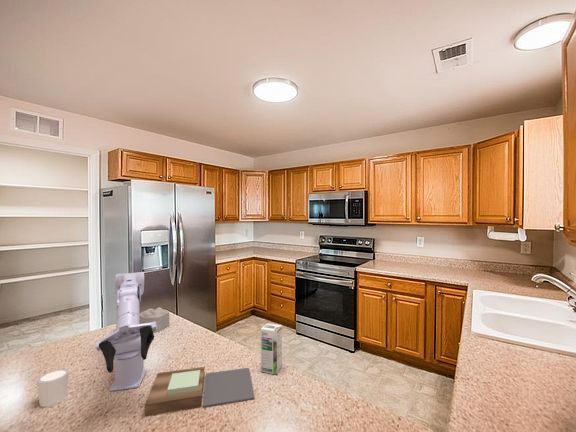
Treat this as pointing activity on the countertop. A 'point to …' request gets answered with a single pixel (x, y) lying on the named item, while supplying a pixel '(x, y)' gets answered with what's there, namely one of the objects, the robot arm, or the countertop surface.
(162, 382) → the walnut board
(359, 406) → the countertop surface
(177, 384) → the coaster
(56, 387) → the white cylinder
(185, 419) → the countertop surface
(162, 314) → the lumpy-topped squat cylinder
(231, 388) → the rubber mat
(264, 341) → the syrup box
